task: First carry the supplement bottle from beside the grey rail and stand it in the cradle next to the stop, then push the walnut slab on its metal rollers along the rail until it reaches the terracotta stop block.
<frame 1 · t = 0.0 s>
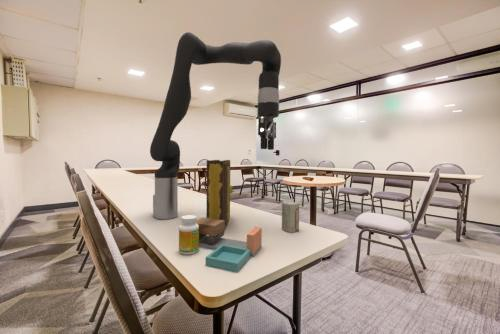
hand: (267, 149, 79), 29 cm above the table, fingers open, 8 cm apart
book: (219, 224, 87), on the table
cradle: (229, 260, 57), on the table
skincare box: (290, 230, 82), on the table
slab: (208, 230, 68), point 4 cm above the table, slide at 0.0 cm
supplement bottle: (189, 251, 63), on the table
rail: (224, 245, 66), on the table
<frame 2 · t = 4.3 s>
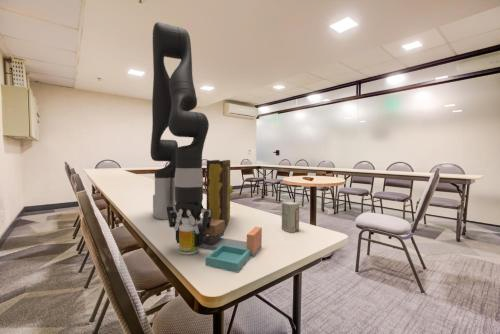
hand: (189, 243, 63), 2 cm above the table, fingers closed on supplement bottle, 5 cm apart
supplement bottle: (189, 251, 63), on the table, touching gripper
everything else where it was.
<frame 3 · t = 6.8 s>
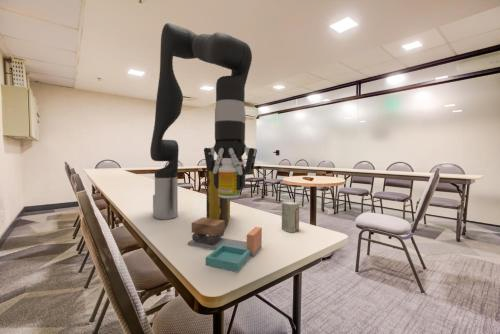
hand: (229, 188, 56), 19 cm above the table, fingers closed on supplement bottle, 5 cm apart
supplement bottle: (229, 197, 56), point 16 cm above the table, touching gripper
everything else where it was.
when the fingers open (4 cm above the table, at t = 9.3 s): supplement bottle drops 2 cm, resting on cradle.
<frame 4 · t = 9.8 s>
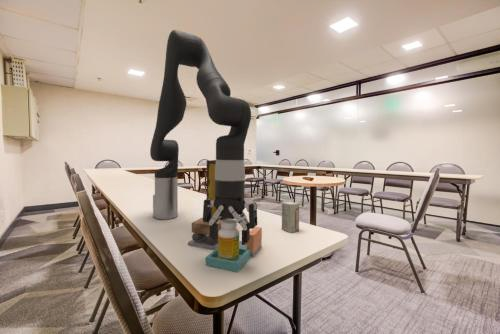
hand: (229, 241, 57), 5 cm above the table, fingers open, 8 cm apart
supplement bottle: (228, 259, 57), resting on cradle
everything else where it was.
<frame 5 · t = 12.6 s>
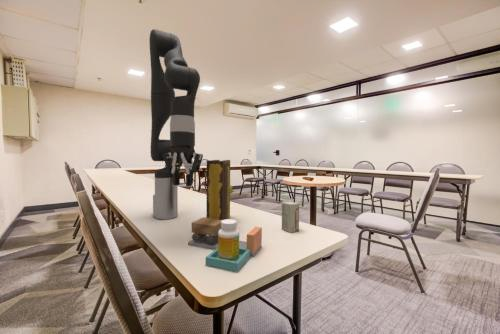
hand: (182, 185, 71), 17 cm above the table, fingers open, 4 cm apart
nothing on the table moved.
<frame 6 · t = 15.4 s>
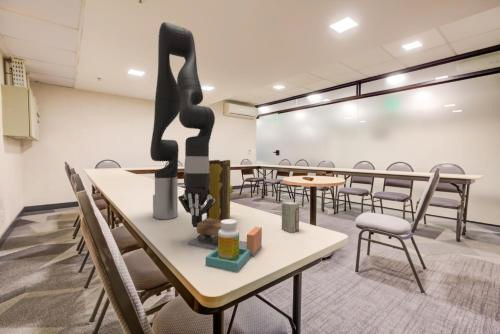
hand: (196, 226, 69), 5 cm above the table, fingers closed
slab: (213, 230, 68), point 4 cm above the table, slide at 1.9 cm, touching gripper
everything else where it was.
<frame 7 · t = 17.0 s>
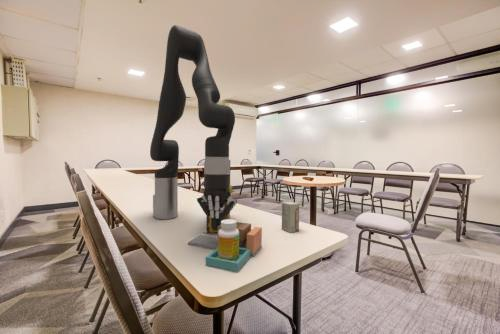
hand: (216, 229, 67), 5 cm above the table, fingers closed
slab: (234, 234, 65), point 4 cm above the table, slide at 8.8 cm, touching gripper
everything else where it was.
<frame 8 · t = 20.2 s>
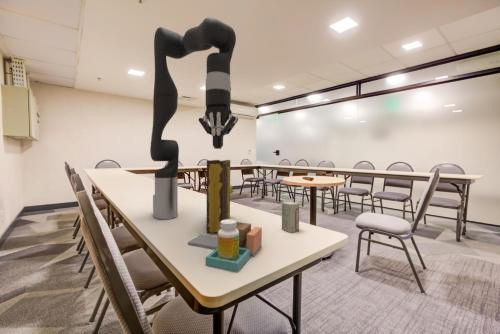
hand: (217, 148, 68), 29 cm above the table, fingers closed
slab: (234, 234, 65), point 4 cm above the table, slide at 8.8 cm
everything else where it was.
at the end: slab slide at 8.8 cm; supplement bottle 0.2 cm from the cradle (horizontally); supplement bottle tilted 0° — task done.
